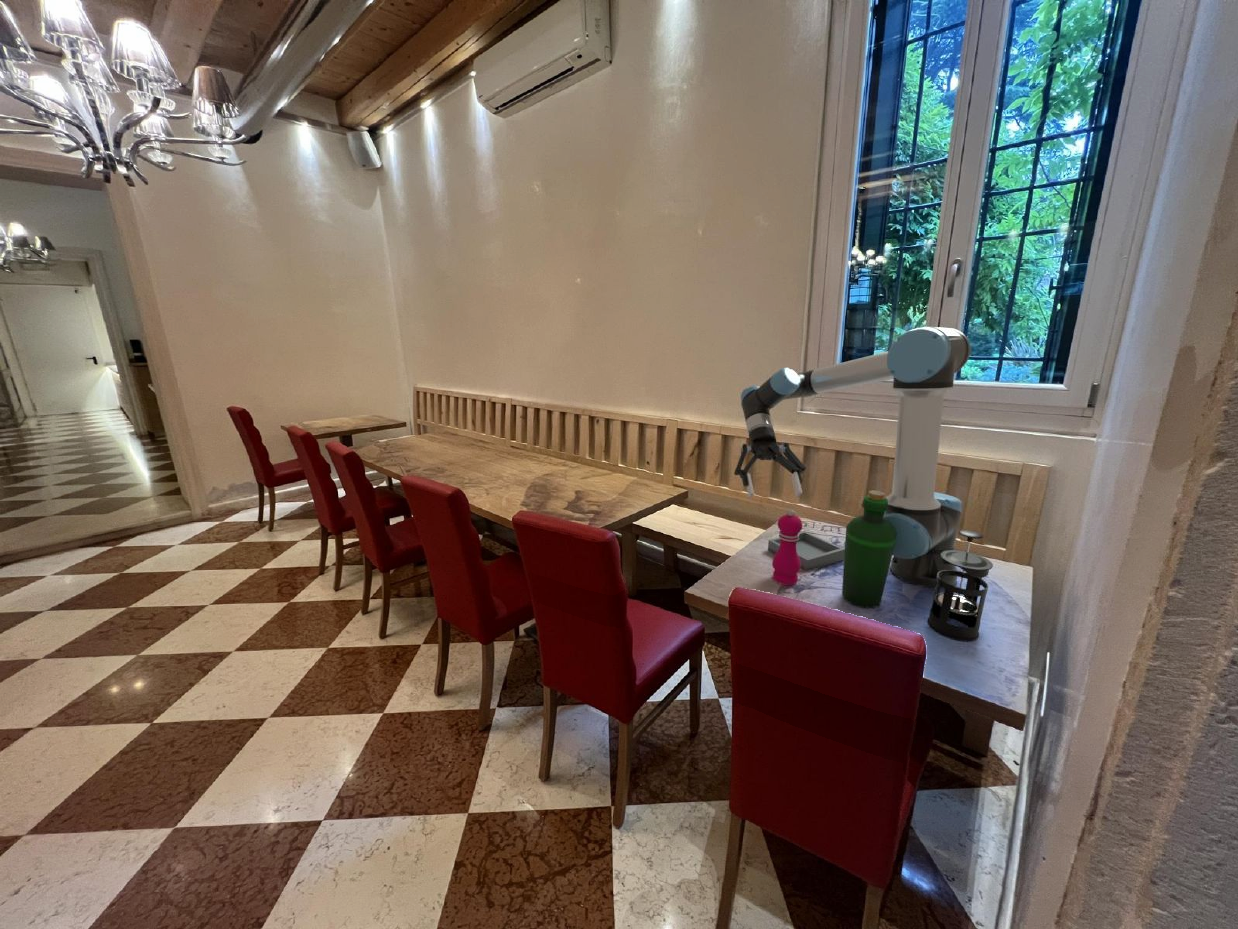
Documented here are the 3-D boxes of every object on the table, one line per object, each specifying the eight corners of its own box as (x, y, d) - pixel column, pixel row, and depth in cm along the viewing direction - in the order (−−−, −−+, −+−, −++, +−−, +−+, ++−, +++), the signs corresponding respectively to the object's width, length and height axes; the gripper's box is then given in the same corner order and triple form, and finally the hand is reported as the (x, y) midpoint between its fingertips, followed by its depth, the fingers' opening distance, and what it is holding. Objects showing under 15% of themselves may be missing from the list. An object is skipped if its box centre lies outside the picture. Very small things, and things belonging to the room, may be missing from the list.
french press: (961, 647, 96) (983, 546, 90) (916, 624, 104) (932, 529, 98) (992, 631, 101) (1014, 534, 95) (946, 610, 109) (963, 519, 103)
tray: (844, 560, 134) (845, 549, 133) (806, 571, 128) (807, 560, 127) (803, 541, 147) (804, 531, 146) (767, 550, 141) (768, 540, 140)
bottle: (883, 592, 116) (900, 488, 109) (887, 616, 107) (907, 503, 99) (836, 584, 121) (850, 483, 113) (837, 606, 111) (852, 497, 103)
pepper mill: (801, 587, 120) (808, 515, 115) (772, 585, 121) (778, 514, 116) (797, 574, 127) (803, 505, 122) (769, 572, 128) (774, 504, 123)
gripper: (796, 438, 143) (814, 499, 133) (717, 439, 142) (728, 502, 132) (805, 424, 137) (824, 488, 126) (722, 425, 136) (734, 490, 125)
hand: (775, 495), depth 129 cm, fingers open, 13 cm apart
